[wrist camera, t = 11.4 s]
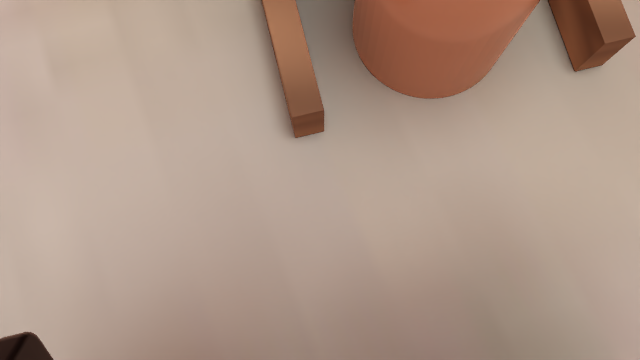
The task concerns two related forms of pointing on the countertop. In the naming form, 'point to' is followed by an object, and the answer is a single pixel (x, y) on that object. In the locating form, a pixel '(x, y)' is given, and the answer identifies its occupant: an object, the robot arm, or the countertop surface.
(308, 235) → the countertop surface
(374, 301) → the countertop surface
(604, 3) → the brown wooden frame
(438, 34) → the jar
